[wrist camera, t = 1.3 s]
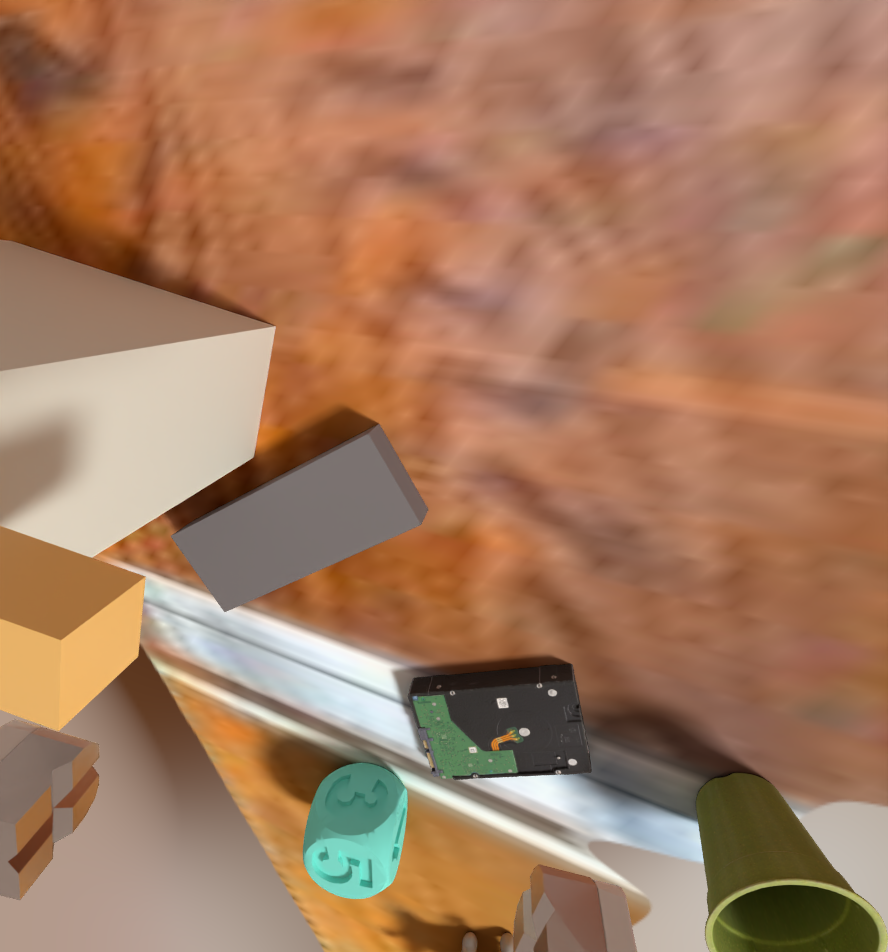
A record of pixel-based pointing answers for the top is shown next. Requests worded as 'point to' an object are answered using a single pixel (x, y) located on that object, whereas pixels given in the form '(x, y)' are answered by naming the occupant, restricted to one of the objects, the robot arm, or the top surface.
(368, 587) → the top surface
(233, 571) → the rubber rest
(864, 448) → the top surface
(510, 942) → the gray elephant figurine
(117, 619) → the long orange square stick
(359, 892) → the decorative dice
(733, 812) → the plant pot
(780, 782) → the top surface
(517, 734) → the disk drive
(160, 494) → the slotted cream upright block
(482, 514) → the top surface
